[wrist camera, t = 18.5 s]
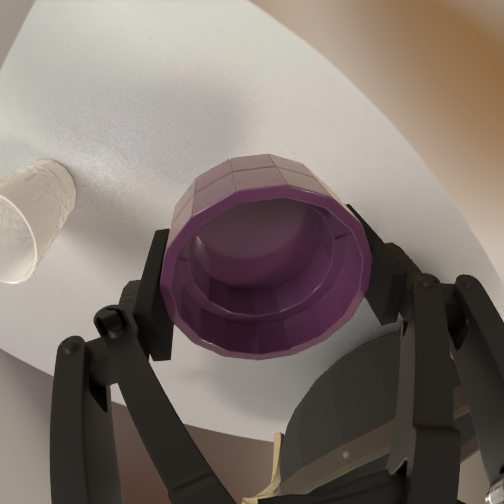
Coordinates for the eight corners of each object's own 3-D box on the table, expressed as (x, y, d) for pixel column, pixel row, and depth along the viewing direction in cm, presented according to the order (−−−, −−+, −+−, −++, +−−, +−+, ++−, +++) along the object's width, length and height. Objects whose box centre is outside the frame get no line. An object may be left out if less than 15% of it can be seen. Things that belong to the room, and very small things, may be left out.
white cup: (11, 207, 26) (-40, 257, 18) (30, 140, 23) (-33, 175, 15) (69, 239, 29) (29, 299, 21) (93, 173, 26) (47, 221, 18)
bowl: (480, 333, 48) (532, 409, 31) (341, 432, 59) (364, 512, 42) (412, 215, 33) (530, 339, 16) (207, 384, 44) (214, 514, 27)
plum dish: (156, 166, 15) (134, 207, 11) (335, 144, 15) (381, 175, 11) (190, 306, 20) (188, 369, 15) (331, 284, 20) (359, 341, 16)
